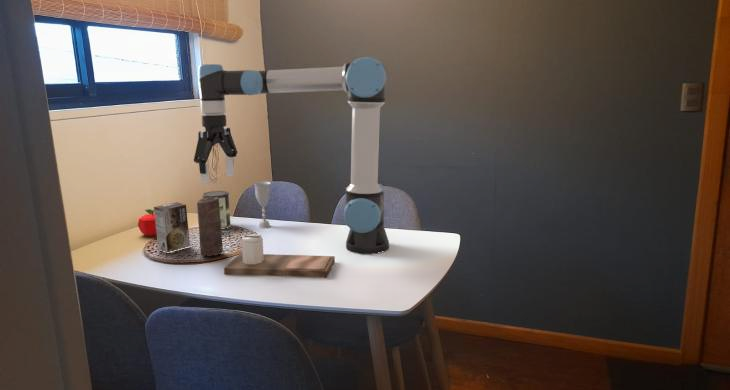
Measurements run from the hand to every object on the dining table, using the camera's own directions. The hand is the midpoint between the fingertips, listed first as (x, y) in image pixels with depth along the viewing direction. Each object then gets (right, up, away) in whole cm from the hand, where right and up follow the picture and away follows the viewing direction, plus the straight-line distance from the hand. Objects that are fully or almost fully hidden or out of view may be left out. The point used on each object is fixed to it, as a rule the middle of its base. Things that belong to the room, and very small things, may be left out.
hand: (218, 179), depth 172 cm
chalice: (+7, -18, +43) cm, 47 cm away
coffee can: (-12, -18, +43) cm, 48 cm away
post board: (+21, -28, -5) cm, 36 cm away
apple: (-34, -20, +34) cm, 52 cm away
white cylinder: (+12, -26, -4) cm, 29 cm away
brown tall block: (-4, -26, +8) cm, 27 cm away
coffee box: (-20, -24, +14) cm, 35 cm away
